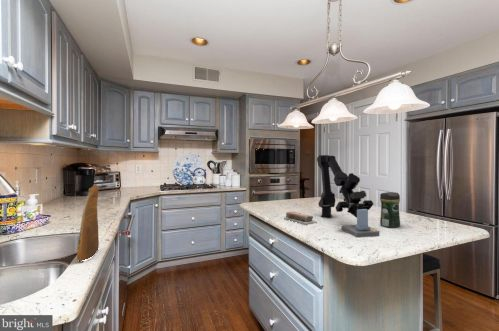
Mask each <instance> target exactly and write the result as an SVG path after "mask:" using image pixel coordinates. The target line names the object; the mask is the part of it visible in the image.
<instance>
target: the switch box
mask: <svg viewBox="0 0 499 331" xmlns="http://www.w3.org/2000/svg"><path fill="white" fill-rule="evenodd" d="M355 226H357V224H345V225H344V224H343V225H341V226H340V229H341V230H342V231H344V232H346V233H347V234H349V235H351V236H353V237H355V238H365V237H367V238H368V237H379V236H380V231H379V230H377V229H374V228H372V227H371V230H357V229H355Z"/></svg>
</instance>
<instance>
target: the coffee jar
mask: <svg viewBox="0 0 499 331" xmlns="http://www.w3.org/2000/svg"><path fill="white" fill-rule="evenodd" d="M379 196H380V198H379V200H380V207H381V208H380V221H379V222H380V223H379V224H380V225H381V226H382V227H384V228H391V229H392V228H398V227H400V226H401V218H400V217H401V216H400V201H401V197H400V193H399V192H394V191H388V192H381V193H380V195H379Z"/></svg>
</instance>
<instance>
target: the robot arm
mask: <svg viewBox="0 0 499 331" xmlns="http://www.w3.org/2000/svg"><path fill="white" fill-rule="evenodd" d="M316 162H317V166H318V167H319V168H320V171H321V172H320V173H321V184H322V193H321V195H320V199H319V201H318V207H319V208H321V215H320V218H329V219H330V218H332V217H333V214H332V208H334V207H335V211H336V212H337V213H339V212H340V213H342V212H343V210H344V209H347V213H349V214H351V216H354V217H355V218H356V219H357V210H359V209H367V210H368V211H369V210H371V208H372V207H373V205H374V202H373V200H371V199H367V200H364V201H362V199H364V198H366V197H367V193H366V191H365V190H361V191H354V190H355V189H356V188H357V186H358V185H359V183H360V182H361V178H360V177H359V176H358V175H355V174H354V173H353V172H352V173H351V172H350V173H348V174H347V173H345V172H344V171H343V170H342V168H341V166H340V165H339V162H338V161H337V160H336V156H335V155H329V154H319V155H318V156H317V157H316ZM330 170H331V172H332V174H333V176H334V177H333V181H334V185H335V186H336V187H340V189H339V192H338V193H339V194H342V196H343V201H338V202H337V204H336V198H335V196H336V195H335V193H334V192H333V191H332V187H331V176H330ZM361 201H362V202H361ZM335 205H336V206H335Z"/></svg>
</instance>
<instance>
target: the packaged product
mask: <svg viewBox="0 0 499 331" xmlns="http://www.w3.org/2000/svg"><path fill="white" fill-rule="evenodd" d="M284 219H287V220H286V221H288V220H290V221H289V222H292V221H293V222H292V223H295V222H297V223H296V224H299V223H300V225H304V226H308V224H309V225H313V224H317V223H318V221H317V220H313V219H314V217H313V216H312V215H308V214H305V213H301V212H298V211H287V212H286V213H285V216H284V218H283V220H284Z"/></svg>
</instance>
